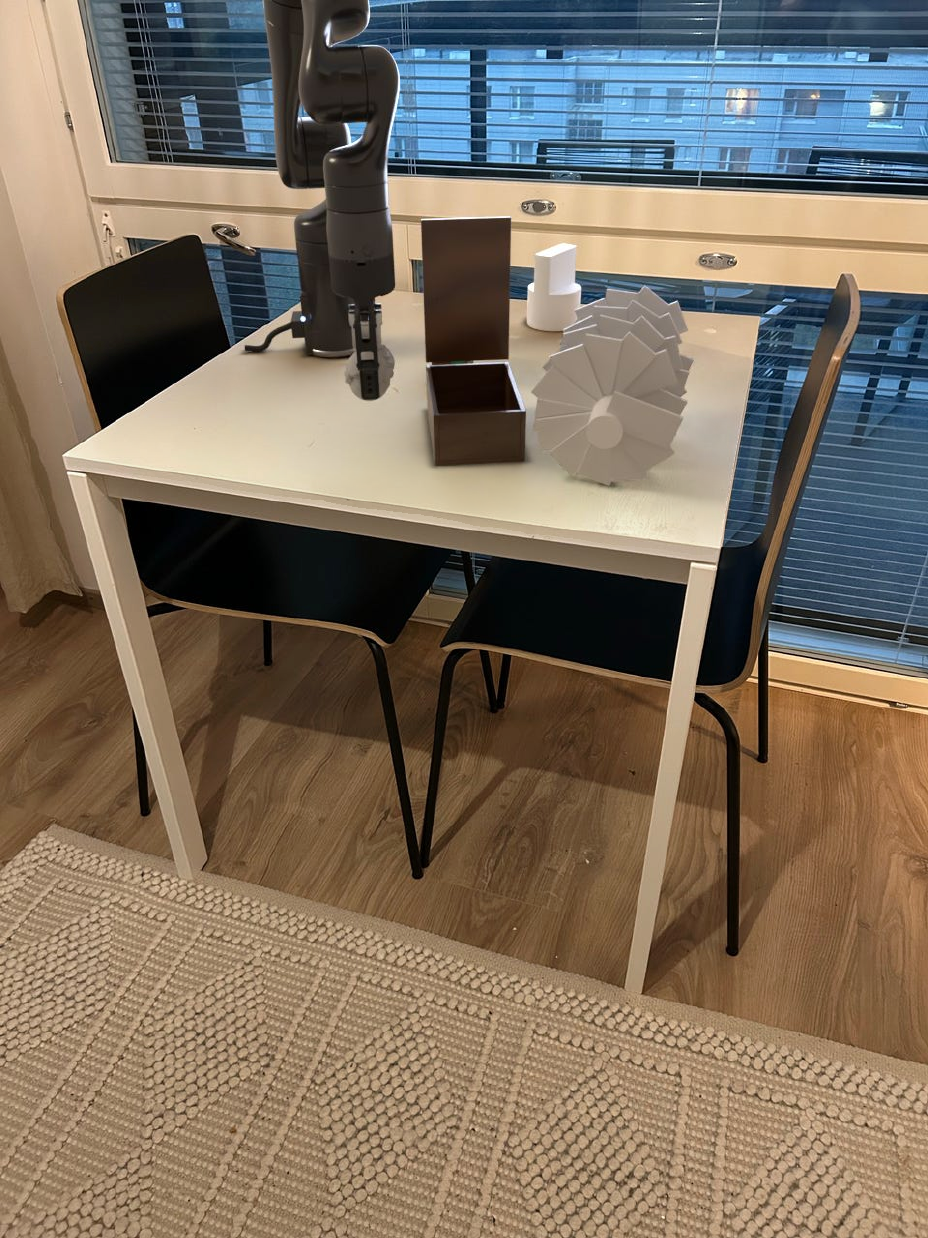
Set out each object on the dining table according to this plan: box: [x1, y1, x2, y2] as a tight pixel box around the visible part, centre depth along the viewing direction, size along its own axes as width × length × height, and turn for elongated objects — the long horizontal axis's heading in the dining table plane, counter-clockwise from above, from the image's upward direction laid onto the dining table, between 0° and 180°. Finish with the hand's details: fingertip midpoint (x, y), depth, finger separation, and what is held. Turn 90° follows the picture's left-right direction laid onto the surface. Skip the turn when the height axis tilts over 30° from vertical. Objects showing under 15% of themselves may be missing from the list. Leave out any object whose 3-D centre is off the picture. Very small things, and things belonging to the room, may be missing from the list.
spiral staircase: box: [530, 285, 695, 487], centre depth 113 cm, size 18×18×25 cm
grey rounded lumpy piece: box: [343, 344, 396, 402], centre depth 116 cm, size 6×7×7 cm
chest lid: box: [420, 215, 512, 364], centre depth 122 cm, size 18×11×5 cm
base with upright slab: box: [526, 243, 582, 332], centre depth 157 cm, size 9×9×12 cm
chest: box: [425, 361, 527, 466], centre depth 121 cm, size 17×11×7 cm, turn 5°
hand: (370, 387), depth 117 cm, fingers closed on grey rounded lumpy piece, 6 cm apart
